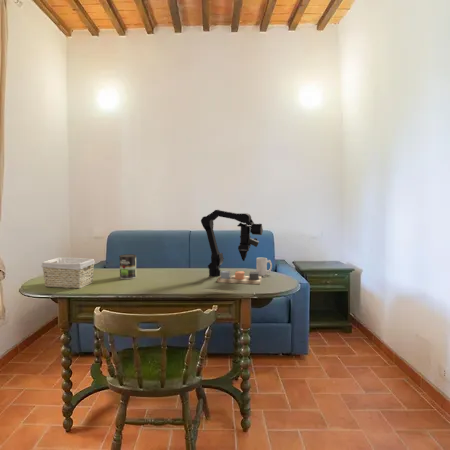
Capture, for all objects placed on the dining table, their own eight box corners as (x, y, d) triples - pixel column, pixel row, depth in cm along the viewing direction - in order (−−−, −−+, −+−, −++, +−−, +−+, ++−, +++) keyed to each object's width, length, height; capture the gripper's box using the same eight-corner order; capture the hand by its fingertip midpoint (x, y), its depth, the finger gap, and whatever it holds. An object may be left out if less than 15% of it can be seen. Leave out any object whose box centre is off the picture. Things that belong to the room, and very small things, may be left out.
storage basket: (96, 282, 194) (95, 258, 193) (80, 289, 178) (79, 263, 177) (60, 280, 197) (59, 256, 196) (41, 288, 181) (40, 262, 180)
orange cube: (234, 281, 190) (235, 272, 189) (236, 279, 195) (236, 271, 194) (243, 281, 189) (243, 273, 189) (244, 279, 194) (244, 271, 194)
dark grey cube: (249, 282, 188) (249, 273, 188) (250, 279, 193) (250, 271, 193) (258, 282, 188) (258, 273, 187) (258, 280, 192) (258, 271, 192)
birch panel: (217, 284, 188) (217, 279, 188) (220, 279, 200) (220, 274, 200) (260, 286, 184) (260, 281, 184) (261, 281, 196) (261, 276, 196)
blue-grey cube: (220, 280, 191) (220, 272, 191) (222, 278, 196) (222, 270, 196) (229, 281, 190) (229, 272, 190) (230, 279, 195) (230, 270, 195)
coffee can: (131, 279, 200) (131, 257, 199) (116, 278, 202) (116, 256, 201) (139, 276, 210) (139, 254, 209) (125, 275, 212) (124, 253, 211)
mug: (256, 278, 204) (257, 259, 203) (255, 275, 211) (255, 257, 210) (272, 278, 204) (273, 259, 203) (271, 275, 211) (271, 257, 210)
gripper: (257, 236, 187) (256, 263, 188) (259, 233, 205) (258, 257, 206) (238, 235, 188) (237, 262, 190) (241, 232, 207) (240, 256, 208)
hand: (244, 259), depth 198 cm, fingers open, 9 cm apart
